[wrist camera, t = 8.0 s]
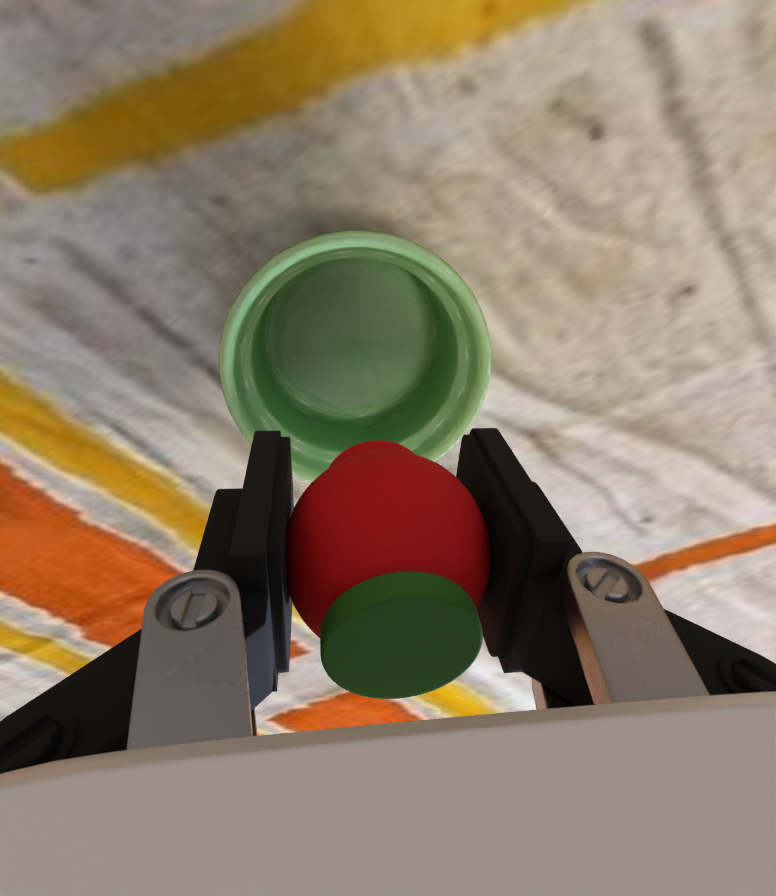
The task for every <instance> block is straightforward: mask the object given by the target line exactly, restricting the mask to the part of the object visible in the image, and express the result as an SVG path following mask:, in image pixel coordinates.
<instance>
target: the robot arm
mask: <svg viewBox="0 0 776 896" xmlns="http://www.w3.org/2000/svg"><path fill="white" fill-rule="evenodd" d="M456 477H457V478H458V479H459V480H460V482H461V483H462V484H463V485H464V486H465V487H466V488H467V490H468V491H469V492H470V493H471V495H472V496H473V498H474V499H475V501H476V503H477V505H478V506H479V508H480V510H481V513H482V515H483V517H484V520H485V523H486V526H487V530H488V534H489V541H490V547H491V565H490V574H489V579H488V583H487V587H486V590H485V593H484V596H483V598H482V600H481V603H480V605H479V607H478V609H477V614H478V617H479V620H480V623H481V626H482V631H483V637H484V640H485V642H486V645H487V648H488V651H489V653H490V655H491V656H492V657H497V656H498V658H499V660H500V663H501V666H502V669H503V672H504V673H512V672H524V673H525V674H527V675H528V676H530V677H532V690H533V694H534V699H535V704H536V709H537V710H530V711H519V712H508V713H497V714H486V715H474V716H463V717H453V718H442V719H431V720H420V721H409V722H398V723H387V724H376V725H366V726H356V727H345V728H335V729H325V730H314V731H304V732H294V733H283V734H273V735H262V736H257V727H256V716H255V707H256V706H257V705H258V704H259V703H261V702H262V701H263V700H264V699H265V698H266V697H267V696H268V695H269V694H270V693H271V692H273V691H277V684H278V673H283V672H289V660H290V639H291V618H292V599H291V597H290V594H289V591H288V581H287V530H288V522H289V519H290V517H291V514H292V512H293V509H294V502H293V481H292V460H291V440H290V437H281V431H280V430H275V431H255V432H254V437H253V442H252V446H251V451H250V456H249V461H248V465H247V470H246V475H245V480H244V485H243V489H218V490H217V491H216V493H215V496H214V500H213V503H212V507H211V510H210V514H209V517H208V521H207V524H206V528H205V531H204V535H203V538H202V542H201V545H200V549H199V552H198V556H197V559H196V563H195V566H194V570H193V571H190V572H186V573H183V574H179V575H177V576H175V577H173V578H171V579H169V580H167V581H166V582H164V583H163V584H162V585H161V586H159V587H158V588H157V589H156V590H155V591H154V592H153V594H152V595H151V596H150V597H149V599H148V601H147V604H146V606H145V609H144V615H143V623H142V629H140V630H139V631H137V632H136V633H134V634H133V635H131V636H130V637H128V638H127V639H125V640H124V641H122V642H121V643H119V644H117V645H116V646H114V647H113V648H111V649H110V650H108V651H107V652H105V653H104V654H102V655H101V656H99V657H97V658H96V659H94V660H93V661H91V662H90V663H88V664H87V665H85V666H84V667H82V668H81V669H79V670H78V671H76V672H74V673H73V674H71V675H70V676H68V677H67V678H65V679H64V680H62V681H61V682H59V683H58V684H56V685H55V686H53V687H51V688H50V689H48V690H47V691H45V692H44V693H42V694H41V695H39V696H38V697H36V698H35V699H33V700H31V701H30V702H28V703H27V704H25V705H24V706H22V707H21V708H19V709H18V710H16V711H15V712H13V713H12V714H10V715H8V716H7V717H6V718H4V719H3V720H2V721H0V896H776V664H775V663H773V662H772V661H770V660H768V659H767V658H765V657H763V656H761V655H759V654H757V653H755V652H753V651H751V650H749V649H747V648H745V647H742V646H740V645H738V644H736V643H734V642H732V641H730V640H728V639H726V638H724V637H722V636H719V635H717V634H715V633H713V632H711V631H709V630H707V629H705V628H703V627H701V626H699V625H697V624H694V623H692V622H690V621H688V620H686V619H684V618H682V617H680V616H678V615H676V614H674V613H672V612H669V611H667V610H665V609H663V607H662V606H661V604H660V602H659V600H658V598H657V596H656V594H655V593H654V591H653V589H652V587H651V585H650V583H649V582H648V580H647V579H646V578H645V576H644V575H643V574H642V573H641V572H640V571H639V570H638V569H637V568H635V567H634V566H633V565H632V564H630V563H628V562H626V561H625V560H623V559H621V558H618V557H616V556H613V555H610V554H606V553H600V552H584V553H583V552H582V550H581V549H580V547H579V546H578V544H577V543H576V541H575V540H574V538H573V537H572V535H571V534H570V532H569V531H568V529H567V528H566V526H565V525H564V523H563V522H562V520H561V519H560V517H559V516H558V514H557V513H556V511H555V510H554V508H553V507H552V505H551V504H550V502H549V501H548V499H547V498H546V496H545V495H544V493H543V492H542V490H541V489H540V487H539V486H538V485H537V484H536V483H535V482H532V481H531V479H530V478H529V476H528V475H527V473H526V472H525V470H524V469H523V467H522V466H521V464H520V463H519V461H518V460H517V458H516V456H515V455H514V453H513V452H512V450H511V449H510V447H509V446H508V444H507V443H506V441H505V440H504V438H503V437H502V435H501V433H500V432H499V430H498V429H497V428H473V429H472V430H471V432H470V435H463V437H462V441H461V448H460V454H459V461H458V468H457V474H456Z"/></svg>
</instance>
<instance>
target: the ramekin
mask: <svg viewBox="0 0 776 896" xmlns="http://www.w3.org/2000/svg"><path fill="white" fill-rule="evenodd" d="M490 368H491V346H490V338H489V333H488V329H487V325H486V322H485V319H484V316H483V313H482V310H481V308H480V306H479V304H478V302H477V300H476V298H475V297H474V295H473V293H472V292H471V290H470V289H469V287H468V286H467V285H466V283H465V282H464V281H463V279H462V278H461V277H460V276H459V275H458V274H457V272H456V271H455V270H454V269H453V268H452V267H451V266H450V265H448V264H447V263H446V262H445V261H443V260H442V259H441V258H439V257H438V256H437V255H435V254H434V253H432V252H431V251H429V250H427V249H425V248H424V247H422V246H420V245H418V244H416V243H414V242H411V241H409V240H406V239H403V238H401V237H398V236H394V235H391V234H386V233H381V232H375V231H362V230H348V231H338V232H332V233H327V234H322V235H319V236H316V237H313V238H310V239H307V240H304V241H302V242H299V243H297V244H295V245H293V246H291V247H289V248H287V249H285V250H284V251H282V252H281V253H279V254H278V255H276V256H275V257H273V258H272V259H270V260H269V261H268V262H267V263H265V264H264V265H263V266H262V267H261V268H260V269H259V270H258V271H257V272H256V273H255V274H254V275H253V276H252V277H251V278H250V279H249V281H248V282H247V283H246V285H245V286H244V287H243V289H242V290H241V292H240V293H239V295H238V296H237V298H236V300H235V301H234V303H233V305H232V307H231V309H230V312H229V314H228V316H227V319H226V322H225V325H224V329H223V332H222V337H221V342H220V350H219V372H220V380H221V386H222V391H223V395H224V398H225V401H226V404H227V407H228V409H229V411H230V414H231V416H232V418H233V420H234V421H235V423H236V425H237V426H238V428H239V429H240V431H241V432H242V434H243V435H244V436H245V438H246V439H247V440H248V441H249V442H250V443H251V444H252V442H253V437H254V432H255V431H275V430H280V431H281V437H290V440H291V460H292V474H293V475H295V476H297V477H300V478H302V479H305V480H308V481H311V482H313V481H314V480H315V479H316V478H317V477H318V476H319V475H321V474H322V473H323V472H324V471H326V470H327V469H328V468H329V466H330V464H331V463H332V462H333V461H334V459H335V458H336V457H337V456H338V455H339V454H341V453H342V452H343V451H345V450H346V449H348V448H350V447H352V446H354V445H356V444H359V443H363V442H367V441H376V440H380V441H389V442H394V443H397V444H400V445H402V446H404V447H406V448H408V449H409V450H411V451H412V452H413V453H414V454H416V455H419V456H422V457H424V458H427V459H429V460H431V461H434V462H435V461H436V460H437V459H439V458H440V457H442V456H443V455H444V454H445V453H446V452H447V451H448V450H450V449H451V448H452V447H453V446H454V445H455V444H456V443H457V442H458V441H459V439H460V438H461V437H462V436H463V435H464V433H465V432H466V431H467V429H468V428H469V427H470V425H471V424H472V422H473V420H474V418H475V417H476V415H477V413H478V411H479V409H480V407H481V405H482V402H483V400H484V397H485V394H486V390H487V387H488V383H489V377H490Z"/></svg>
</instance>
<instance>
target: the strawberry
mask: <svg viewBox="0 0 776 896" xmlns="http://www.w3.org/2000/svg"><path fill="white" fill-rule="evenodd" d="M490 565H491V547H490V541H489V534H488V530H487V526H486V523H485V520H484V517H483V515H482V513H481V510H480V508H479V506H478V505H477V503H476V501H475V499H474V498H473V496H472V495H471V493H470V492H469V491H468V490H467V488H466V487H465V486H464V485H463V484H462V483H461V482H460V480H459V479H458V478H457V477H455V476H454V475H453V474H452V473H450V472H449V471H448V470H446V469H445V468H444V467H442V466H441V465H439V464H437V463H436V462H434V461H431V460H429V459H427V458H424V457H422V456H419V455H416V454H414V453H413V452H412V451H411V450H409V449H408V448H406V447H404V446H402V445H400V444H397V443H394V442H389V441H380V440H376V441H367V442H363V443H359V444H356V445H354V446H352V447H350V448H348V449H346V450H345V451H343V452H342V453H341V454H339V455H338V456H337V457H336V458H335V459H334V461H333V462H332V463H331V464H330V466H329V468H328V469H327V470H326V471H324V472H323V473H322V474H321V475H319V476H318V477H317V478H316V479H315V480H314V481H313V482H312V483H311V484H310V485H309V486H308V488H307V489H306V490H305V491H304V493H303V494H302V496H301V497H300V499H299V500H298V502H297V504H296V505H295V507H294V509H293V512H292V514H291V517H290V519H289V522H288V530H287V581H288V591H289V594H290V597H291V599H292V602H293V604H294V606H295V608H296V610H297V611H298V613H299V615H300V616H301V618H302V619H303V621H304V622H305V623H306V624H307V626H308V627H309V628H310V629H311V630H312V631H313V632H314V633H315V634H316V635H317V636H318V637H319V638H320V645H321V661H322V664H323V667H324V669H325V671H326V672H327V674H328V676H329V677H330V678H331V679H332V680H333V681H334V682H335V683H336V684H337V685H339V686H340V687H342V688H344V689H345V690H347V691H350V692H352V693H355V694H358V695H361V696H365V697H370V698H378V699H398V698H406V697H412V696H417V695H421V694H424V693H427V692H430V691H433V690H436V689H438V688H440V687H442V686H444V685H446V684H448V683H450V682H452V681H453V680H455V679H456V678H457V677H459V676H460V675H461V674H463V673H464V672H465V671H466V670H467V669H468V668H469V667H470V666H471V665H472V663H473V662H474V661H475V659H476V657H477V656H478V654H479V651H480V649H481V645H482V639H483V631H482V626H481V623H480V620H479V617H478V614H477V609H478V607H479V605H480V603H481V600H482V598H483V596H484V593H485V590H486V587H487V583H488V579H489V574H490Z"/></svg>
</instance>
